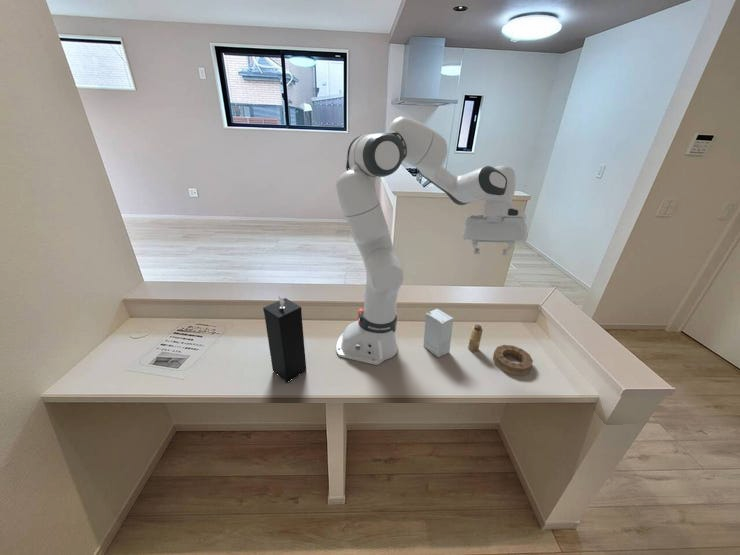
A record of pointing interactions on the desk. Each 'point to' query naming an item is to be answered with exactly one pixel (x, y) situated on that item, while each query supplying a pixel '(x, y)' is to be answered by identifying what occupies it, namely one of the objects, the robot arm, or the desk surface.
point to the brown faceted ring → (510, 366)
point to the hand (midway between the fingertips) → (490, 254)
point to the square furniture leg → (285, 338)
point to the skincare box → (438, 332)
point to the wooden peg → (475, 338)
